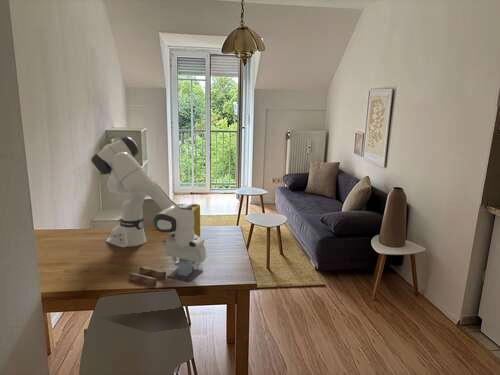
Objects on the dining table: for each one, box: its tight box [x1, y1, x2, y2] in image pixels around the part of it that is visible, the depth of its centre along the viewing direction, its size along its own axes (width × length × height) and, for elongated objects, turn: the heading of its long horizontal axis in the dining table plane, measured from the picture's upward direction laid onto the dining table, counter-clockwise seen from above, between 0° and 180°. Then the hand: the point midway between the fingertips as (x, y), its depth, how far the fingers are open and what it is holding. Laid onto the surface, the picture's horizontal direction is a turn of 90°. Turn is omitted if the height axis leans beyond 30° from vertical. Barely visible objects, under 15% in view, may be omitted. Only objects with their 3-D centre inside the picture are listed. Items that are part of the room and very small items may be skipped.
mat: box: [166, 268, 204, 283], centre depth 175 cm, size 12×12×1 cm
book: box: [178, 203, 201, 260], centre depth 195 cm, size 17×7×25 cm, turn 168°
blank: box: [177, 259, 193, 276], centre depth 174 cm, size 4×5×6 cm
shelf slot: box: [128, 265, 167, 287], centre depth 169 cm, size 14×8×3 cm, turn 68°
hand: (185, 267), depth 174 cm, fingers open, 8 cm apart
